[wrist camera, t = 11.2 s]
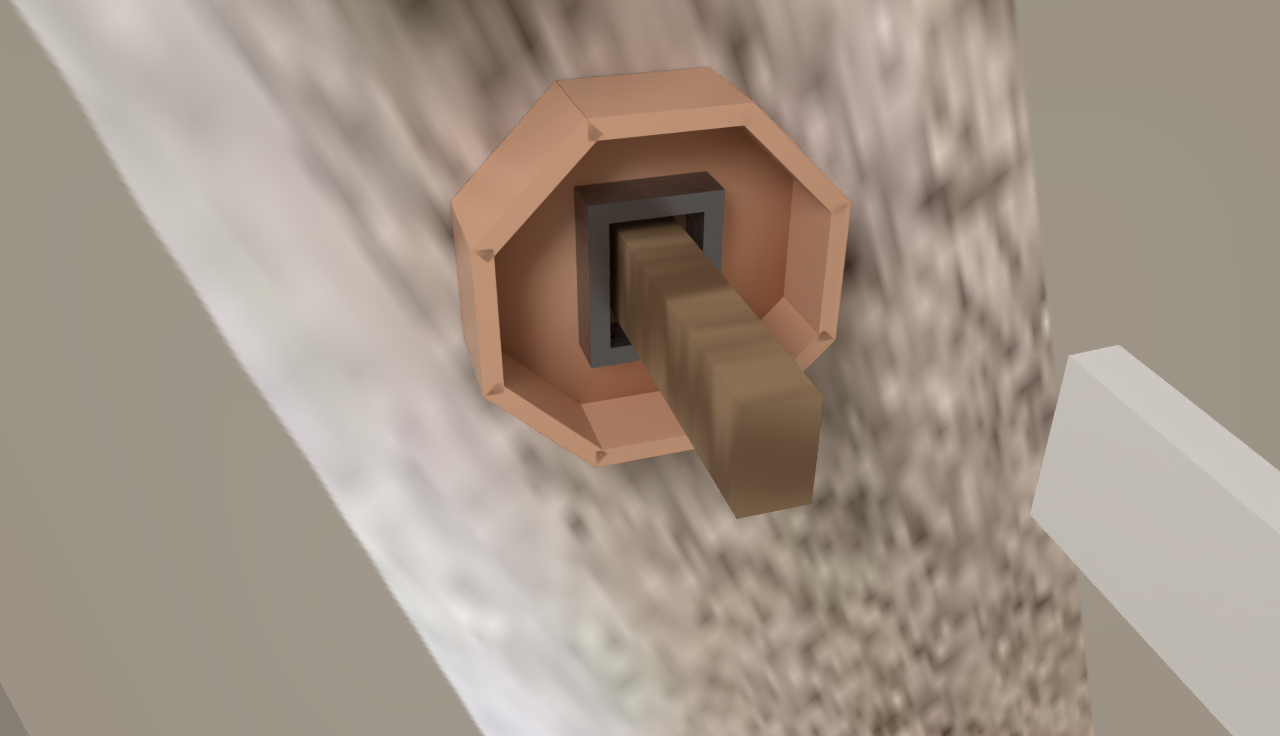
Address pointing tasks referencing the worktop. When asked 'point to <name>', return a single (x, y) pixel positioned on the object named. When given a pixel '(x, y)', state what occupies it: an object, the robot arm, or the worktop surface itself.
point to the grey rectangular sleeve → (630, 203)
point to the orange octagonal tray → (546, 247)
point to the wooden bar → (716, 367)
